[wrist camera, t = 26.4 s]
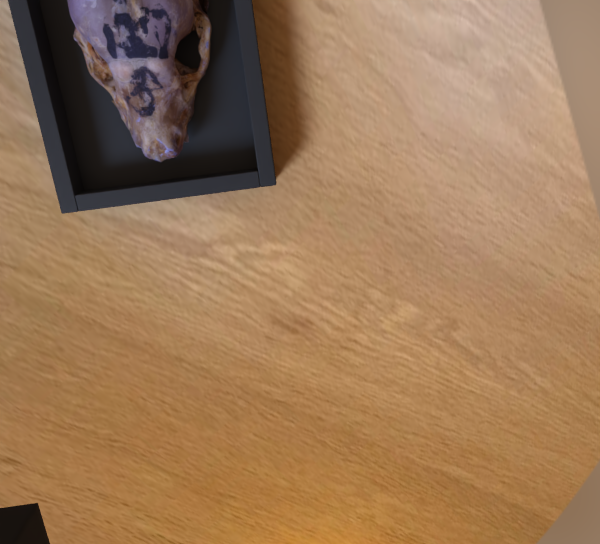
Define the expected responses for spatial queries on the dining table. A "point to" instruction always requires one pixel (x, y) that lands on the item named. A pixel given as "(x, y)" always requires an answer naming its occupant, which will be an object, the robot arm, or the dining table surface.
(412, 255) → the dining table surface
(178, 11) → the skull
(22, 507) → the robot arm
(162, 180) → the tray
